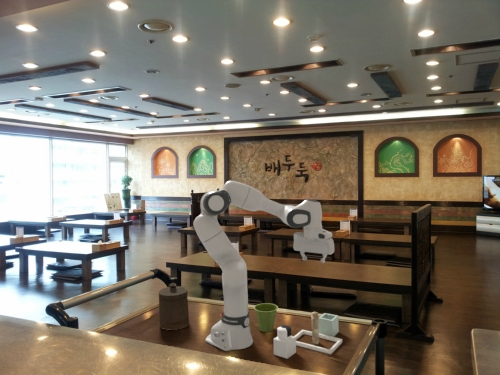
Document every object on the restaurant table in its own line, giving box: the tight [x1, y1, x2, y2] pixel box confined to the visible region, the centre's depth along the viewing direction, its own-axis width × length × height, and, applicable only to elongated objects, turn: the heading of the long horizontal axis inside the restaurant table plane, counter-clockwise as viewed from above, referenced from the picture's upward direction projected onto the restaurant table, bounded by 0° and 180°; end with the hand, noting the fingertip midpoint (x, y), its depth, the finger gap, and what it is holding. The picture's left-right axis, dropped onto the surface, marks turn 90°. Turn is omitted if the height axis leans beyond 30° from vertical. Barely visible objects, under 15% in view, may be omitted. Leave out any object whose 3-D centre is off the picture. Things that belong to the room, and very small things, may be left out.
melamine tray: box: [294, 329, 343, 357], centre depth 187 cm, size 20×13×2 cm, turn 56°
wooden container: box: [158, 282, 190, 331], centre depth 213 cm, size 15×15×22 cm
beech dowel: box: [310, 311, 320, 345], centre depth 186 cm, size 3×3×14 cm
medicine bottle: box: [272, 324, 297, 360], centre depth 179 cm, size 7×7×12 cm
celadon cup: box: [318, 312, 340, 337], centre depth 196 cm, size 7×7×9 cm
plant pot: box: [253, 302, 279, 333], centre depth 205 cm, size 12×12×11 cm
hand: (313, 261), depth 199 cm, fingers open, 8 cm apart
